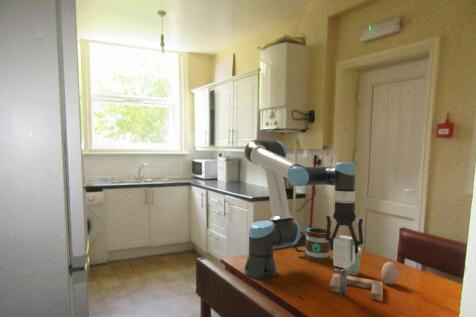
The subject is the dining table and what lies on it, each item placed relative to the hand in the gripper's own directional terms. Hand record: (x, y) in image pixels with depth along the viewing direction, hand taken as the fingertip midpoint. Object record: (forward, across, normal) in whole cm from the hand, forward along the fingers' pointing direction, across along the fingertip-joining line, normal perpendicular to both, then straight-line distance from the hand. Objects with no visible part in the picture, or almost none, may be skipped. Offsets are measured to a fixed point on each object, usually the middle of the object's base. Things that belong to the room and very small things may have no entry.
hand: (344, 260), depth 123 cm
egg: (+15, +16, +24) cm, 33 cm away
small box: (+2, 0, 0) cm, 2 cm away
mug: (+14, -22, +42) cm, 49 cm away
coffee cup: (+15, 0, +29) cm, 33 cm away
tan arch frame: (+15, +4, +11) cm, 19 cm away
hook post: (+15, -2, +2) cm, 15 cm away
